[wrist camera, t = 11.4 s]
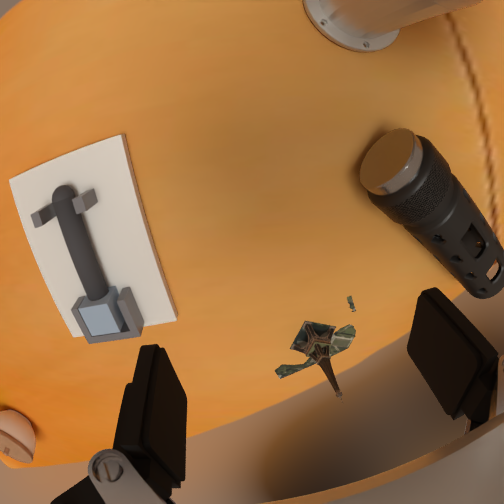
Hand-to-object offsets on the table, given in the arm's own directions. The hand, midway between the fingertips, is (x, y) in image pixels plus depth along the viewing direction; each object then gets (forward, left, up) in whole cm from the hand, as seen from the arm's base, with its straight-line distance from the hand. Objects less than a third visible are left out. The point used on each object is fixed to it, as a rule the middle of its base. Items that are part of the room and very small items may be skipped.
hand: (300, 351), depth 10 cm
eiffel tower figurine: (+23, +7, -26) cm, 36 cm away
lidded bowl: (+36, -60, -26) cm, 74 cm away
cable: (+3, -19, -24) cm, 30 cm away
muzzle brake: (+7, +25, -26) cm, 37 cm away
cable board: (+2, -19, -25) cm, 31 cm away
